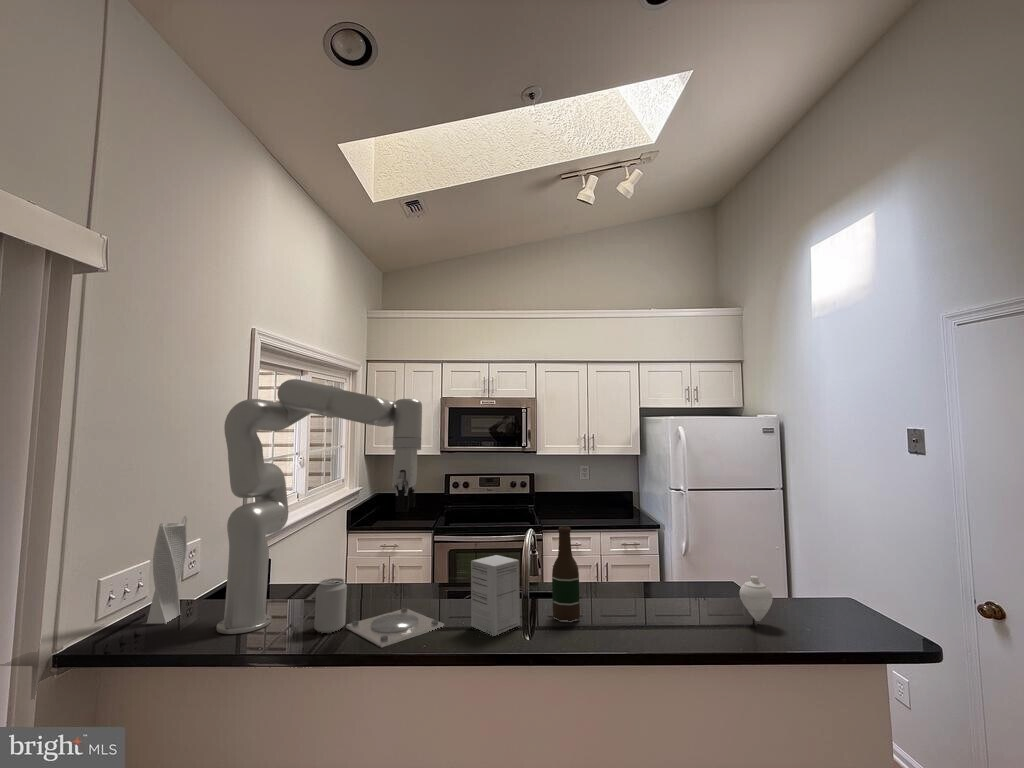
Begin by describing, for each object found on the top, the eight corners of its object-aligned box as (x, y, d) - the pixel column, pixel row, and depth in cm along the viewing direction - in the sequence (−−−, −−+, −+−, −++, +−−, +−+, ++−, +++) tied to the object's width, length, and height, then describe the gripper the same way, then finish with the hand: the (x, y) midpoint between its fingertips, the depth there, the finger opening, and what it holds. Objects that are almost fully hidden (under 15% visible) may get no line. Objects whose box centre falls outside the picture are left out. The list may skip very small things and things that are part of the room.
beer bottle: (585, 616, 128) (582, 526, 131) (573, 625, 121) (571, 530, 125) (560, 611, 132) (558, 524, 136) (547, 620, 125) (545, 527, 129)
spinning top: (768, 633, 115) (763, 582, 117) (736, 624, 121) (733, 576, 123) (779, 625, 120) (775, 576, 122) (749, 617, 126) (745, 571, 128)
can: (334, 635, 116) (336, 585, 118) (307, 633, 117) (310, 583, 119) (350, 625, 123) (352, 577, 125) (325, 623, 125) (327, 576, 126)
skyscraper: (190, 616, 132) (199, 514, 136) (168, 626, 124) (178, 518, 128) (160, 616, 132) (170, 514, 136) (137, 626, 124) (148, 518, 128)
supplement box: (497, 618, 127) (496, 554, 129) (521, 627, 120) (520, 559, 123) (469, 628, 120) (470, 559, 123) (493, 637, 114) (493, 565, 116)
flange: (345, 627, 121) (346, 621, 121) (406, 611, 134) (406, 605, 134) (381, 647, 108) (381, 640, 109) (443, 627, 121) (444, 620, 121)
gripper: (399, 445, 135) (397, 506, 132) (385, 444, 118) (383, 513, 115) (425, 445, 135) (424, 505, 133) (415, 443, 118) (414, 513, 115)
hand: (405, 509), depth 124 cm, fingers open, 9 cm apart
